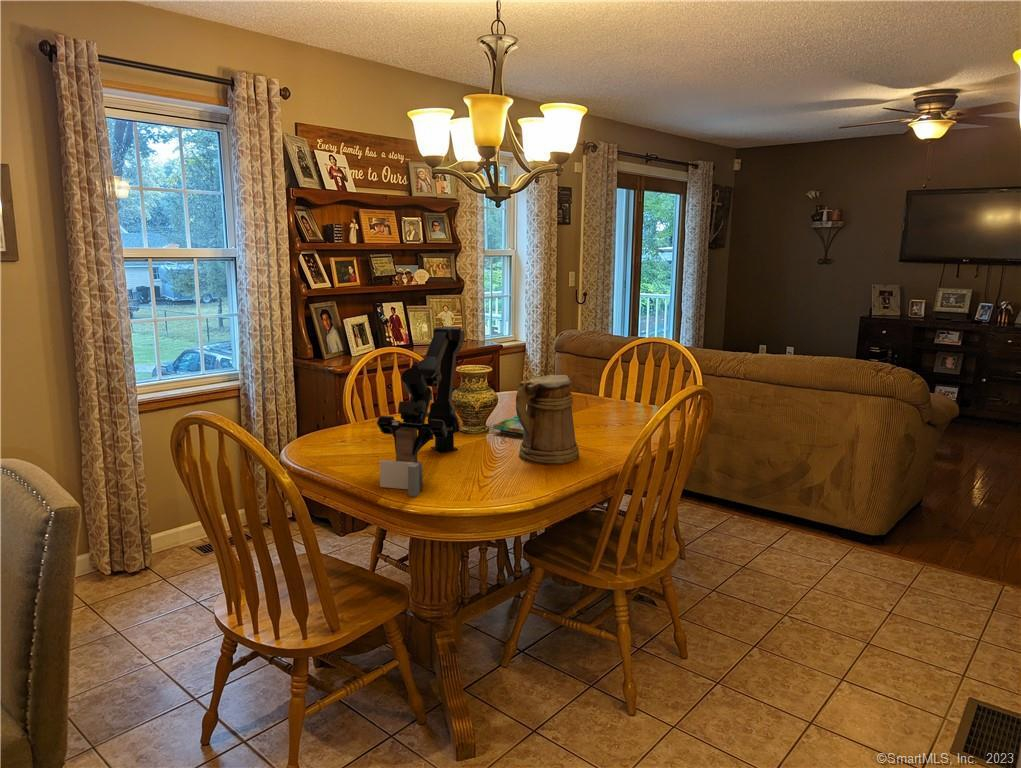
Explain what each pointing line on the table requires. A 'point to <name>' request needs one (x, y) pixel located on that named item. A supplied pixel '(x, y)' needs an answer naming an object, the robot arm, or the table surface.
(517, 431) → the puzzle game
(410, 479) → the gray upright block
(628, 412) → the table surface
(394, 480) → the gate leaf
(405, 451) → the doorstop post
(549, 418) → the tankard
